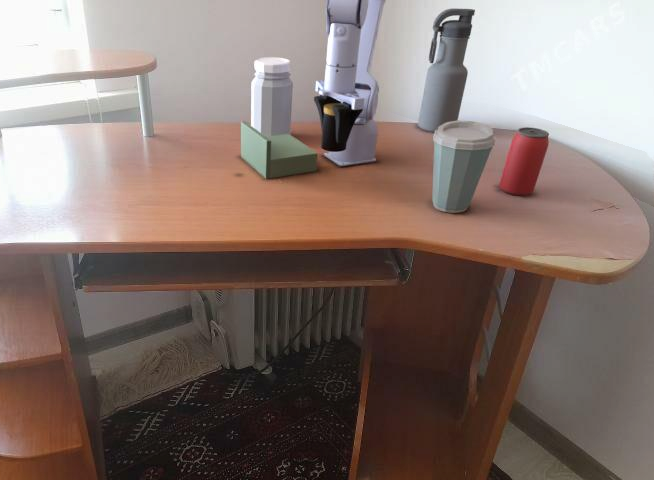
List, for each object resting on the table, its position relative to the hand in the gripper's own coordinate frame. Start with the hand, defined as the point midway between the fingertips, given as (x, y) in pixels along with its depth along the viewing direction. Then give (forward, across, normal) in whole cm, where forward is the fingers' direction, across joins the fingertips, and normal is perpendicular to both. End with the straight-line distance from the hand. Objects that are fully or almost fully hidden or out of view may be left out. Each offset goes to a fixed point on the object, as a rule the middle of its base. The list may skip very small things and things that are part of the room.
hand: (334, 137), depth 107 cm
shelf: (+9, -14, -6) cm, 17 cm away
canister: (+2, 0, 0) cm, 2 cm away
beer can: (+10, +18, +33) cm, 39 cm away
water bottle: (+10, -22, +45) cm, 51 cm away
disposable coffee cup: (+10, +19, +15) cm, 26 cm away
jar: (+10, -30, 0) cm, 32 cm away
